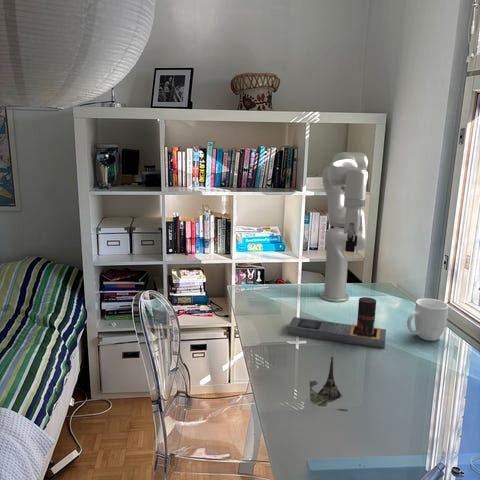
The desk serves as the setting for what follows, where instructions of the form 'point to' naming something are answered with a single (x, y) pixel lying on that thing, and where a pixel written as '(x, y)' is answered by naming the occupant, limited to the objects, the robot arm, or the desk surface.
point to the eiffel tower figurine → (325, 390)
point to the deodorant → (366, 316)
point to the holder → (335, 332)
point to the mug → (429, 318)
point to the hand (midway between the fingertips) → (351, 248)
